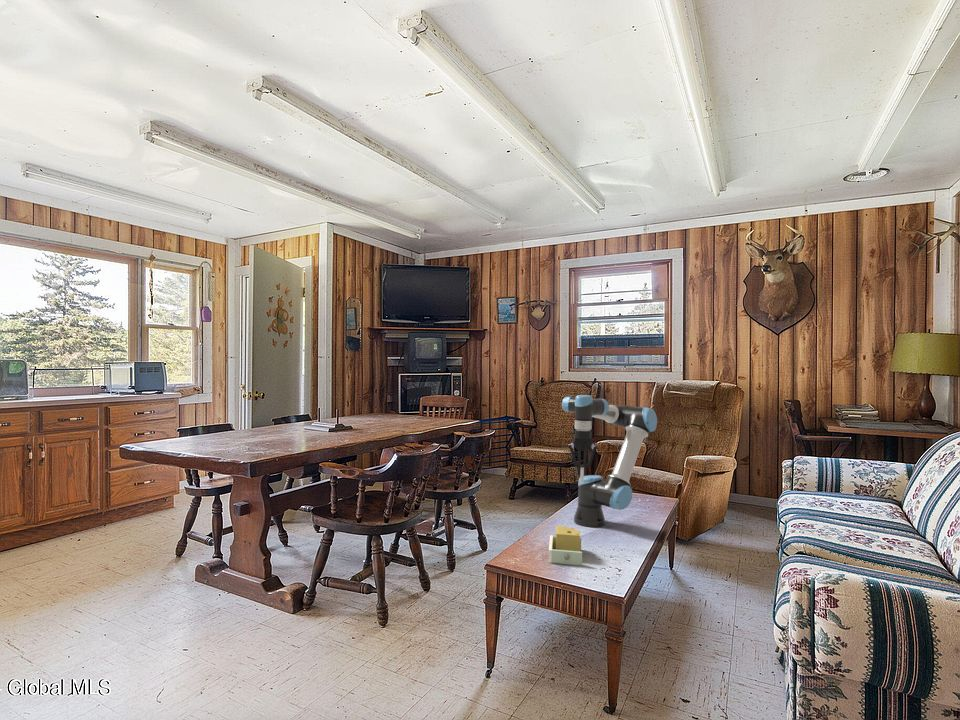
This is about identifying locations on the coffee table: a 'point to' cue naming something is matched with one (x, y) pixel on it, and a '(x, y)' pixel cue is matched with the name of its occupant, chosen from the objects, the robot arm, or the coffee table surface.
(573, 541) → the cheese
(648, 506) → the coffee table surface
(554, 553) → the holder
